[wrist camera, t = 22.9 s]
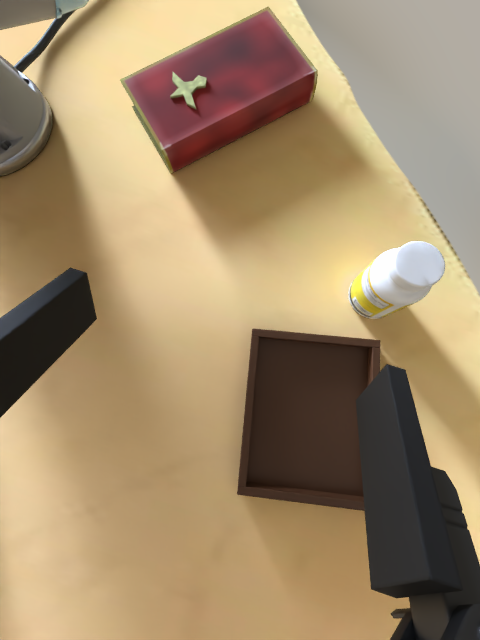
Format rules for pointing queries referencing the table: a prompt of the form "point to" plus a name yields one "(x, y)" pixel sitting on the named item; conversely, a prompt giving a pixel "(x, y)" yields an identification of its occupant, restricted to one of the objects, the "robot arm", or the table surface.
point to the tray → (305, 417)
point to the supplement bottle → (396, 279)
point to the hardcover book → (221, 88)
